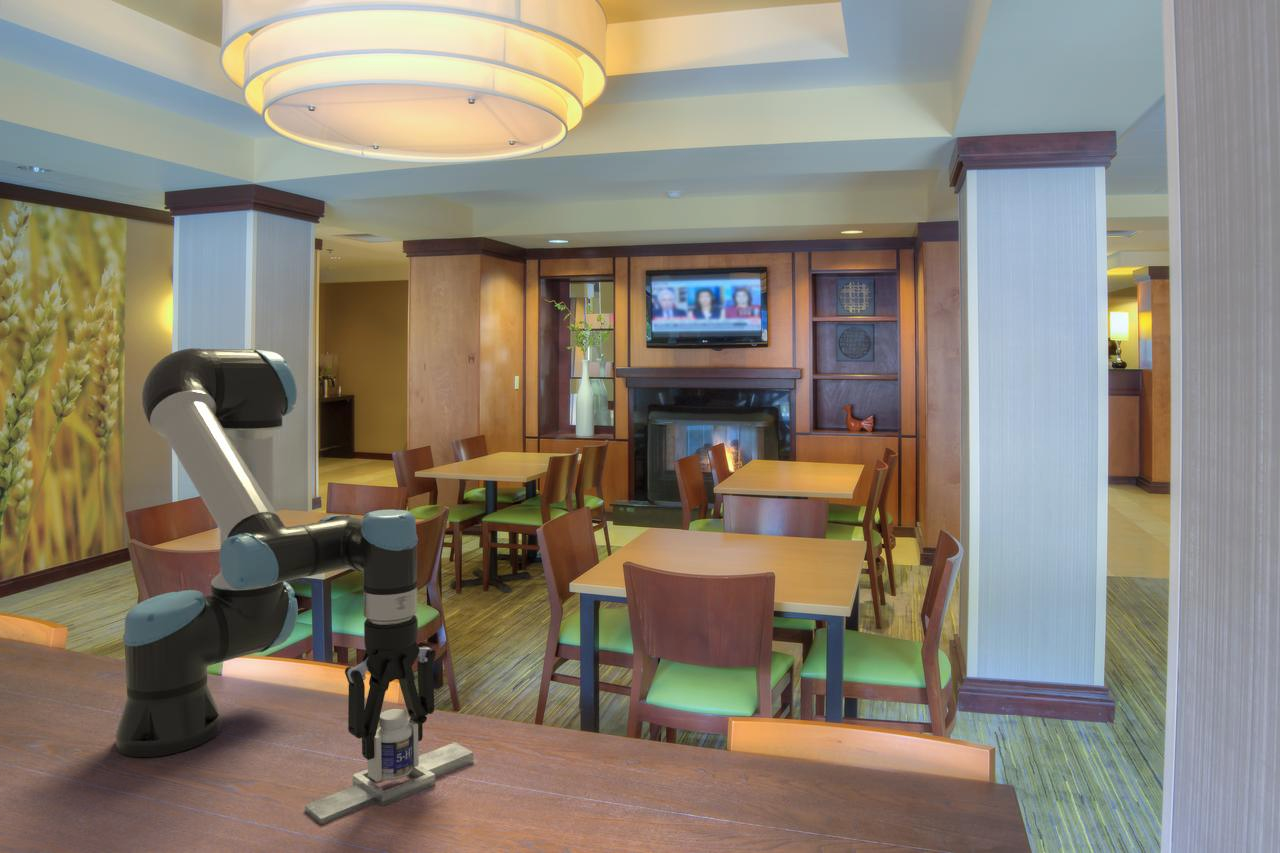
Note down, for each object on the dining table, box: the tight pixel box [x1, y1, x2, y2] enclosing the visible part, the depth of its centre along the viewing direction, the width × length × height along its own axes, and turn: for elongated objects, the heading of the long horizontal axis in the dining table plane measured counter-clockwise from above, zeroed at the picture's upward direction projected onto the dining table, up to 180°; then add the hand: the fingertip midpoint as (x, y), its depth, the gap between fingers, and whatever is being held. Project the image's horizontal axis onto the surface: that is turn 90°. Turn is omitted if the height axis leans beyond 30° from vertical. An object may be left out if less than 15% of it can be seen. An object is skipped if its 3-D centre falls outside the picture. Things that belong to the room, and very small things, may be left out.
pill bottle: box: [376, 708, 412, 781], centre depth 121 cm, size 5×5×9 cm
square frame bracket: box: [304, 741, 474, 825], centre depth 122 cm, size 25×9×2 cm, turn 136°
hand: (393, 770), depth 121 cm, fingers closed on pill bottle, 5 cm apart
